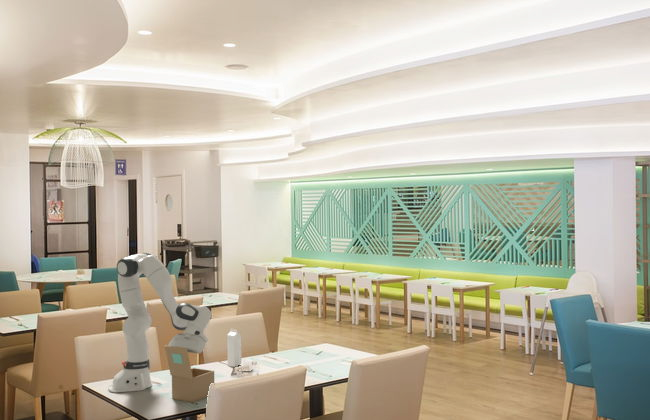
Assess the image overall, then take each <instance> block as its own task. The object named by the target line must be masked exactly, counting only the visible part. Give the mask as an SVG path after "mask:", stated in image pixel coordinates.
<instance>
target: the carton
mask: <svg viewBox="0 0 650 420" xmlns="http://www.w3.org/2000/svg"><path fill="white" fill-rule="evenodd" d="M191 371H192V376H193V379H190V378H184V377H178V376H172V375H171V399H172V400H177V401H182V402H183V401H184V402H188V403H196V402H198V401H200V400H203V399H205V398H206V399H207V398H208V397H207V395H208V391H209V386H210V384H211V383H214V384H215V370H212V369H211V370H210V369H203V368H197V367H191Z"/></svg>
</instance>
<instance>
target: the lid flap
mask: <svg viewBox="0 0 650 420" xmlns="http://www.w3.org/2000/svg"><path fill="white" fill-rule="evenodd" d="M164 350H165V354H166V355H165V356H166V359H167V360H166V361H167V365H168V368H169V369H168V370H169V374H170V376H171V377H172V376H178V377H184V378H190V379H193V376H192V371H191V369H192V367H191V361H190V356H189V352H188V351H187V348H182V347H174V346H168V345H164Z"/></svg>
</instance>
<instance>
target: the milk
mask: <svg viewBox="0 0 650 420" xmlns="http://www.w3.org/2000/svg"><path fill="white" fill-rule="evenodd" d="M226 337H227V342H226V343H227V347H226V349H227V367H230V368H231V367H232V368H236V367H235V366H237V367H239V366H238V365H240V364H242V334H241V333H240V332H238V329H234V328H230V330H229V332H228V334H226Z"/></svg>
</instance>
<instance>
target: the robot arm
mask: <svg viewBox="0 0 650 420" xmlns="http://www.w3.org/2000/svg"><path fill="white" fill-rule="evenodd" d="M116 270H117V282H118V283H117V284H118V291H119V297H120V300H121V305H122V307H123V308H124V310H125V312H126V315H127V318H126V319H125V321H124V322H123V323H122V327H121V329H122V332H123V333H124V337H125V342H126V352H127V353H126V355H127V356H126V357H127V360H126V361H125V360H122V361H121V364H122V365H123V368H122V369H121V370H120V371H119V372H117V373H116V374H115V375H114V377H113V380H112V384H110V385H109V386H108V388H107V389H108V391H109V392H111V393H126V392H136V391H137V392H140V391H144V390H146V389H147V388H148V389H149V388H151V387H152V386H153V383H152V380H151V375H150V368H151V367H150V366H151V364H150V363H151V362H150V361H151V360H150V359H149V358H150V357H149V355H150V354H149V343H148V341H147V336H146V332H147V331H148V330H149V329H150V328H151V325H152V323H153V322H152V316H150V314H149V312H148V310H147V309H148V308H147V307H146V304H145V301H144V299H143V298H144V297H143V293H142V292H143V291H142V288H141V284H140V276H141V275H142V276H145V278H146V280H147V281H148V282H149V283H150V285H151V286H152V288H153V290H154V291H155V292H156V294H157V295H158V297H159V298H160V300H161V302H162V304H163V306H164V307H165V309H166V310H167V312H168V314H169V316H170V321H171V324H172V327H173V328H174V329H176V330H177V331H183V333H181V332H179V333H177V334H175V335H174V336H173V337H172V339H171V340H170V341H169V343H168V345H167V346H174V347H182V348H187V351H188V353H190V354H201V353H202V352H203V350H204V349H205V347H206V343H207V342H208V340H209V339H208V338H207V336H206V335H205V334H204V331H205V329H206V328H207V327H208V325H209V323H210V321H211V318H212V311H211V310H210V308H209V307H207V306H205V305H203V304H202V305H193V304H190V303H188V302H182V303H180V304H178V302H177V300H176V299H175V297H174V294H173V279H172V276H171V274H170V272H169V270H168V268H167V267H166V266H165V265H164V263H163V262H162V261H161V260H160V258H158V257H157V256H156V255H153V254H151V253H149V252H141V253H135V254H132V255H129V256H125V257H123V258H120V259H119V260H118V262H117V263H116Z"/></svg>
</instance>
